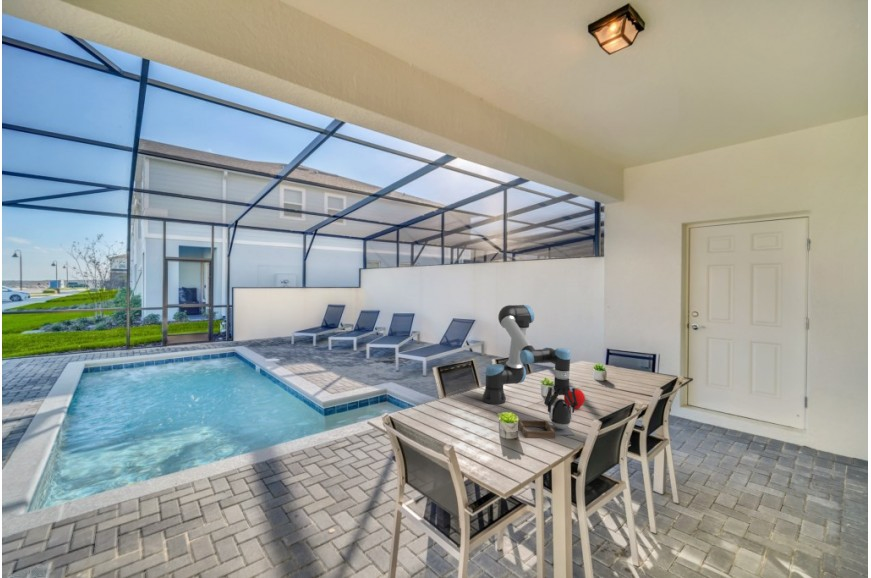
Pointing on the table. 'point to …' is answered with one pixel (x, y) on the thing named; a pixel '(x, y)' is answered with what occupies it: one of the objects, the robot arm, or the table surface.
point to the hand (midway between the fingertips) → (560, 418)
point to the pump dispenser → (560, 414)
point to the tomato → (579, 397)
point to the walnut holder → (536, 434)
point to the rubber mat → (562, 431)
